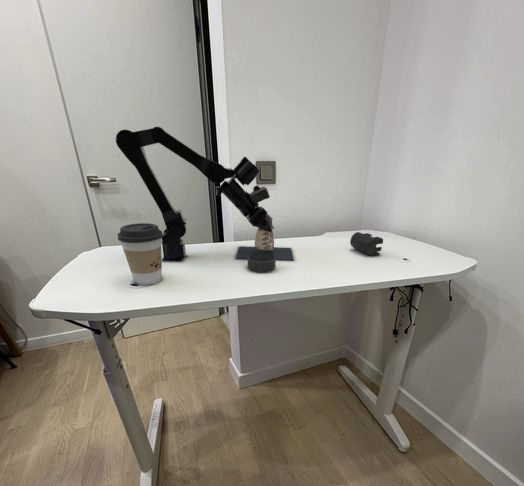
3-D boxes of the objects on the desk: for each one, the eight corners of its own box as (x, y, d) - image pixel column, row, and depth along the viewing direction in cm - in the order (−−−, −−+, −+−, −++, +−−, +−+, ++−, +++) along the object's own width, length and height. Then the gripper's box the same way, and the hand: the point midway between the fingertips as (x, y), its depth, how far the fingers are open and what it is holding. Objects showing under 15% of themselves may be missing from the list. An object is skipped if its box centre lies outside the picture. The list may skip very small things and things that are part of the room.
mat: (235, 259, 100) (235, 258, 100) (239, 247, 113) (239, 246, 113) (293, 260, 100) (293, 259, 100) (290, 248, 113) (290, 247, 112)
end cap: (348, 249, 114) (351, 232, 110) (362, 247, 116) (365, 231, 113) (366, 257, 105) (369, 239, 102) (381, 255, 108) (385, 237, 105)
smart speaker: (279, 271, 91) (280, 259, 89) (252, 274, 88) (252, 262, 86) (269, 262, 98) (269, 250, 96) (244, 264, 96) (244, 253, 94)
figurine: (278, 248, 105) (280, 214, 99) (262, 251, 101) (263, 216, 95) (266, 243, 110) (268, 211, 104) (250, 246, 106) (251, 212, 100)
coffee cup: (157, 290, 77) (148, 233, 70) (118, 286, 79) (105, 230, 72) (175, 274, 87) (169, 223, 80) (140, 271, 88) (131, 221, 82)
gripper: (261, 180, 86) (294, 218, 93) (249, 175, 102) (277, 208, 109) (235, 208, 88) (269, 242, 95) (227, 199, 104) (257, 229, 111)
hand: (268, 229), depth 103 cm, fingers closed on figurine, 6 cm apart
